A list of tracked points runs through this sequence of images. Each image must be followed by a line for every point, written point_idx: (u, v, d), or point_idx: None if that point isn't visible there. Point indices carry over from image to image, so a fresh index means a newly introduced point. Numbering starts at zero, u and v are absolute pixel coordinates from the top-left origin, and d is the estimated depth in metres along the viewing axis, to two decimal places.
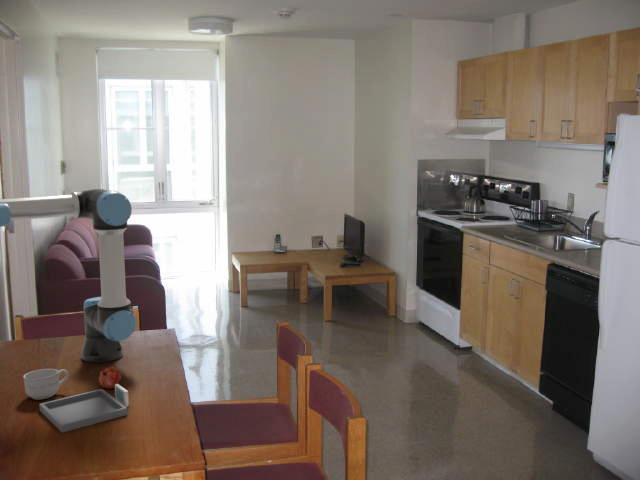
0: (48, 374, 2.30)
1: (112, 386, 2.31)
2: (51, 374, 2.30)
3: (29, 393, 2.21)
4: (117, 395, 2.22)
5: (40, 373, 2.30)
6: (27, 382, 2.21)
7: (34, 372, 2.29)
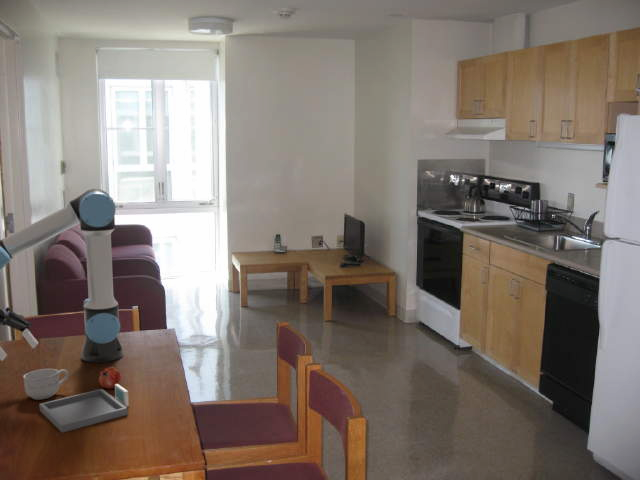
0: (48, 374, 2.30)
1: (112, 386, 2.31)
2: (51, 374, 2.30)
3: (29, 393, 2.21)
4: (117, 395, 2.22)
5: (40, 373, 2.30)
6: (27, 382, 2.21)
7: (34, 372, 2.29)
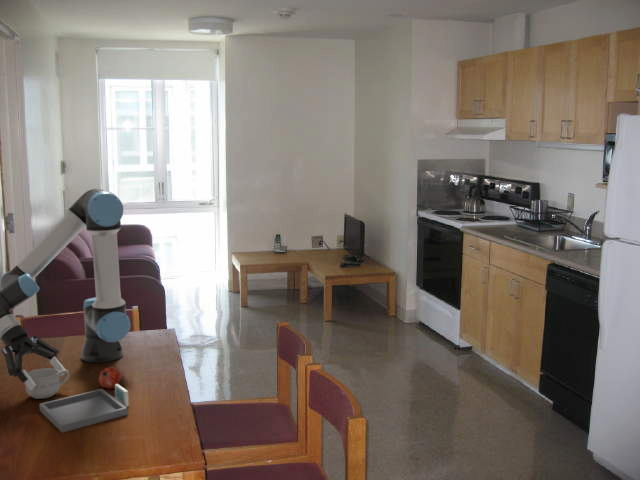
0: (49, 373, 2.30)
1: (112, 386, 2.31)
2: (52, 374, 2.30)
3: (29, 392, 2.21)
4: (117, 395, 2.22)
5: (41, 372, 2.30)
6: None
7: (35, 371, 2.29)
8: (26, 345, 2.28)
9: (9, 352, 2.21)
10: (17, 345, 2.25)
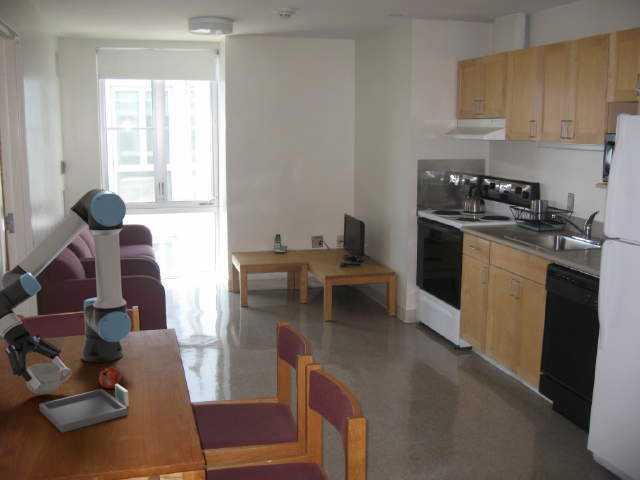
0: (52, 369, 2.30)
1: (112, 386, 2.31)
2: (55, 370, 2.30)
3: (28, 386, 2.22)
4: (117, 395, 2.22)
5: (45, 367, 2.30)
6: None
7: (39, 365, 2.29)
8: (28, 344, 2.27)
9: (12, 351, 2.21)
10: (19, 344, 2.25)
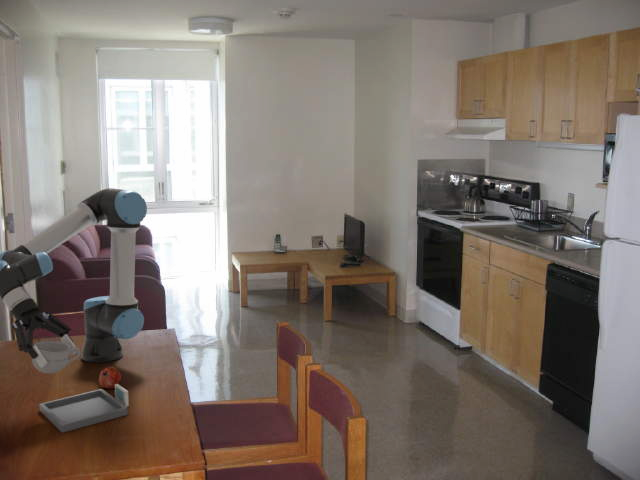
0: (60, 348, 2.19)
1: (112, 386, 2.31)
2: (63, 349, 2.19)
3: (34, 363, 2.11)
4: (117, 395, 2.22)
5: (52, 345, 2.19)
6: None
7: (47, 342, 2.18)
8: (37, 320, 2.17)
9: (19, 326, 2.10)
10: (27, 319, 2.14)
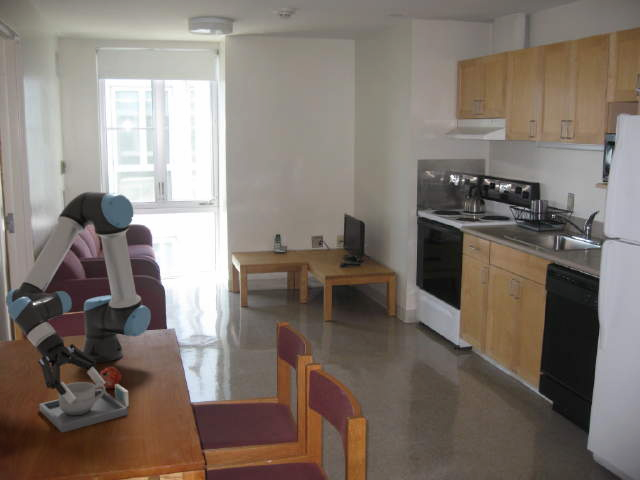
0: (85, 388, 2.17)
1: (112, 386, 2.31)
2: (88, 388, 2.16)
3: (62, 408, 2.08)
4: (117, 395, 2.22)
5: (77, 386, 2.17)
6: (60, 396, 2.08)
7: (70, 385, 2.16)
8: (63, 355, 2.14)
9: (46, 363, 2.07)
10: (54, 355, 2.11)
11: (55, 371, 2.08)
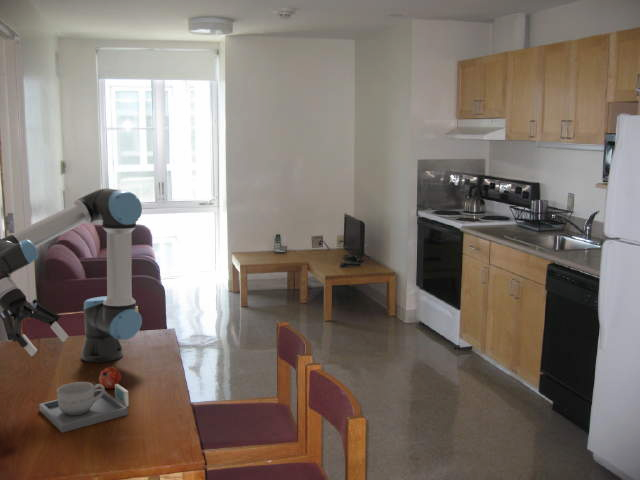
0: (85, 388, 2.17)
1: (112, 386, 2.31)
2: (88, 388, 2.16)
3: (61, 408, 2.09)
4: (117, 395, 2.22)
5: (77, 386, 2.17)
6: (59, 396, 2.08)
7: (70, 385, 2.16)
8: (25, 309, 2.16)
9: (7, 316, 2.09)
10: (16, 309, 2.13)
11: (16, 324, 2.10)
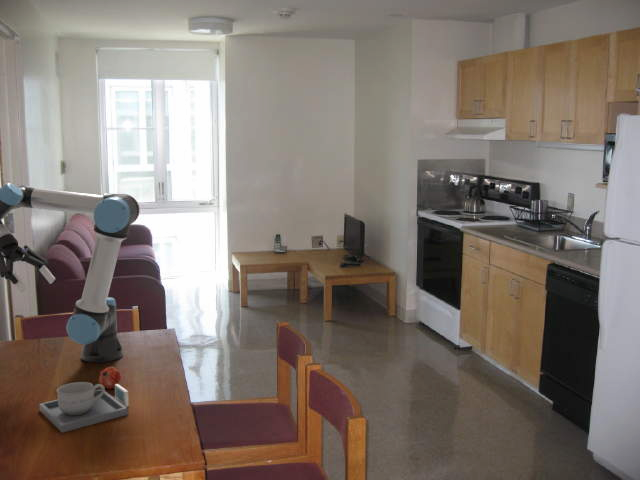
0: (85, 388, 2.17)
1: (112, 386, 2.31)
2: (88, 388, 2.16)
3: (61, 408, 2.09)
4: (117, 395, 2.22)
5: (77, 386, 2.17)
6: (59, 396, 2.08)
7: (70, 385, 2.16)
8: (17, 253, 2.41)
9: (1, 256, 2.35)
10: (8, 252, 2.39)
11: (9, 264, 2.35)
